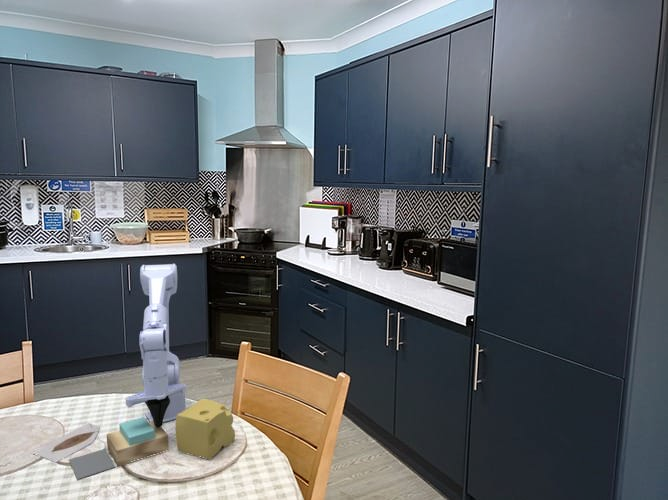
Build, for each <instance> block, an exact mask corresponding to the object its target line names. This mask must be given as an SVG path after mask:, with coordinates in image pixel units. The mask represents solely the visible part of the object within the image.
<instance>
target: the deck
mask: <svg viewBox="0 0 668 500" xmlns="http://www.w3.org/2000/svg"><path fill="white" fill-rule="evenodd" d="M148 423H149V424H150V425H151V426H152V427H153V429H154V430H155V438H154V439H150V440H147V441H144V442H141V443H137V444H134V445H131V446H129V444H128V443H127V441H126V440H125V438H124V437H123V435H122V434H121V432H120V429H119V430H116V431H112V432H108V433H106V444H107V445H106V446H107V447H106V448H107V449H106V450H107V452H108V454H109V455H110V457H111V459H113V460H112V461H114V464H115V466H116V467H119V468H120V467H122V466H125V465H127V464H126V463H128V464H130V463H129V462H131V461H134V460H137V459H140V460H142V459H141V458H143V459H145V458H144V457H146V458H148V457H147V456H150V455H153V454H156V455H158V454H157V453H159V454H161V453H160V452H162V453H164V452H163V451H165V452H167V451H166V450H168V449H169V450H170V448H169V447H170V446H169V445H170V444H169V434H168V433H167V431H165V429H163V426H161V427H158V428H156V426H155V425H154V421H150V420H149V421H148ZM169 450H168V451H169ZM153 456H154V455H153ZM150 457H151V456H150ZM137 461H138V460H137ZM134 462H135V461H134ZM131 463H132V462H131ZM124 464H125V465H124Z"/></svg>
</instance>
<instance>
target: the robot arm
mask: <svg viewBox="0 0 668 500" xmlns="http://www.w3.org/2000/svg"><path fill="white" fill-rule="evenodd" d="M177 268H178V266H177V265H176V263H172V264H171V263H168V264H167V263H166V264H142V265H141V266H140V269H139V271H140V272H139V278H140V279H139V280H140V285H141V287H142V288H141V289H142V291H143V294H144V295H145V296H149V298H148V300H149V305H147V306H146V308H145V309H144V312H143V324H142V325H143V327H142V331H140V333H139V349H140V353H141V360H142V372H141V374H142V376H141V378H142V379H141V381H142V386H143V389H144V390H143V391H140V392H138V393H135V394H132V395H131V396H126V397H125V406H126V407H127V408H132V407H133V406H135V405H138V404H143V403H144V404H145V405H146V407H147V409H148V411H149V412H146V413H145V416H146V418H147V419H148V420H149V422H150V421H154V425H155V426H156V428H158V427H163V423H167V422H169V421H174V420H176V418H177V414H179V413H181V412H183V411H184V410H186V409H187V407H186V393H187V385H186V384H185V383H183V382H181V369H180V367H181V366H180V359H179V357H178V356H177V355H176V354H174V353H172V351H170V325H169V324H170V323H169V321H170V317H169V316H170V315H169V306H170V305H169V302H170V298H171V297H172V295H174V294H176V293H177V289H178V269H177Z"/></svg>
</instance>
